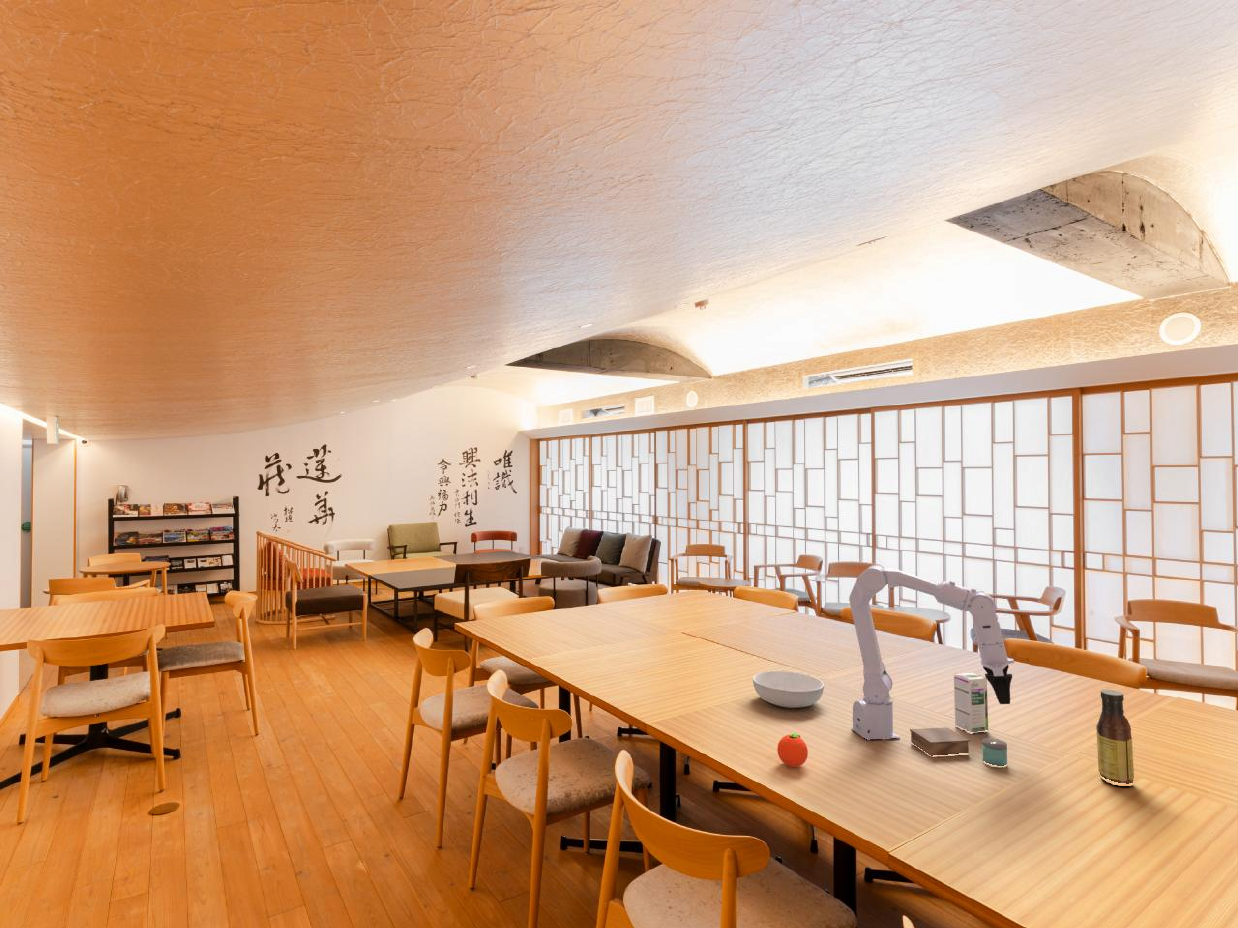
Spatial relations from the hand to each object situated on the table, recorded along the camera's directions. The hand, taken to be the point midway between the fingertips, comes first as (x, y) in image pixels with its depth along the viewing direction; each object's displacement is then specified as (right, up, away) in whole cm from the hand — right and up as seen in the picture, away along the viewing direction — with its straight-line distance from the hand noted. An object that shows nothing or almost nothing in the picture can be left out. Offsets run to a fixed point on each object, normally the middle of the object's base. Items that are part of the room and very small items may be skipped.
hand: (1003, 699), depth 153 cm
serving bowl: (-42, -15, +37) cm, 59 cm away
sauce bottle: (+17, -14, -13) cm, 25 cm away
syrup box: (+2, -15, +17) cm, 23 cm away
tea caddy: (-4, -14, -4) cm, 15 cm away
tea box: (-14, -14, +4) cm, 20 cm away
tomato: (-53, -14, -5) cm, 55 cm away
